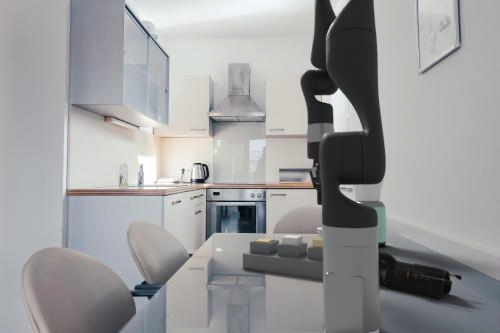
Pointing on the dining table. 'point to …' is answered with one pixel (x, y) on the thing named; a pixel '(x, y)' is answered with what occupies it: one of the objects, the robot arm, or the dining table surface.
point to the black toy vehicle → (414, 277)
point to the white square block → (292, 240)
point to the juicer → (371, 198)
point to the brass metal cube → (317, 242)
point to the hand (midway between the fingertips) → (322, 204)
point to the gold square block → (264, 240)
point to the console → (285, 259)
